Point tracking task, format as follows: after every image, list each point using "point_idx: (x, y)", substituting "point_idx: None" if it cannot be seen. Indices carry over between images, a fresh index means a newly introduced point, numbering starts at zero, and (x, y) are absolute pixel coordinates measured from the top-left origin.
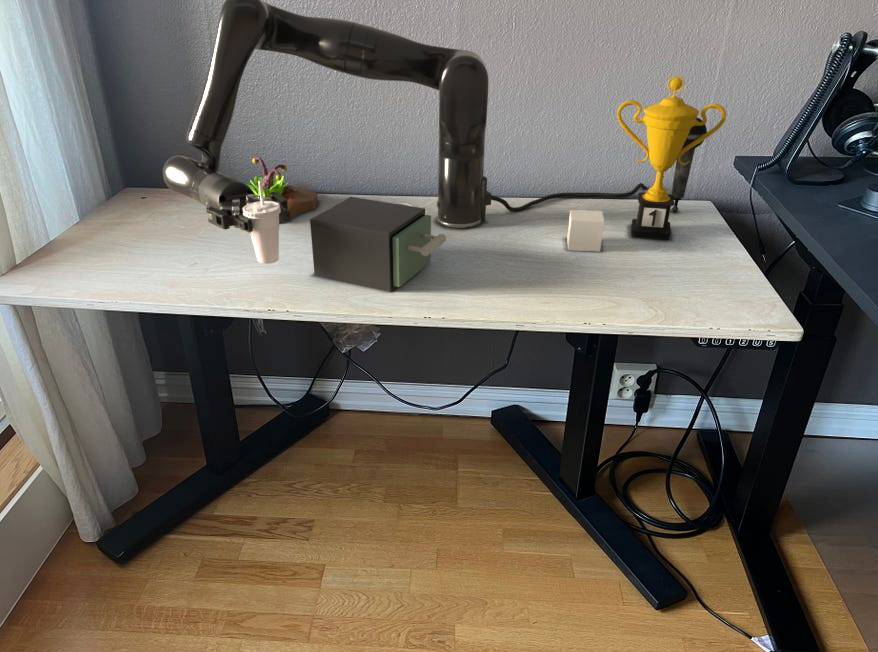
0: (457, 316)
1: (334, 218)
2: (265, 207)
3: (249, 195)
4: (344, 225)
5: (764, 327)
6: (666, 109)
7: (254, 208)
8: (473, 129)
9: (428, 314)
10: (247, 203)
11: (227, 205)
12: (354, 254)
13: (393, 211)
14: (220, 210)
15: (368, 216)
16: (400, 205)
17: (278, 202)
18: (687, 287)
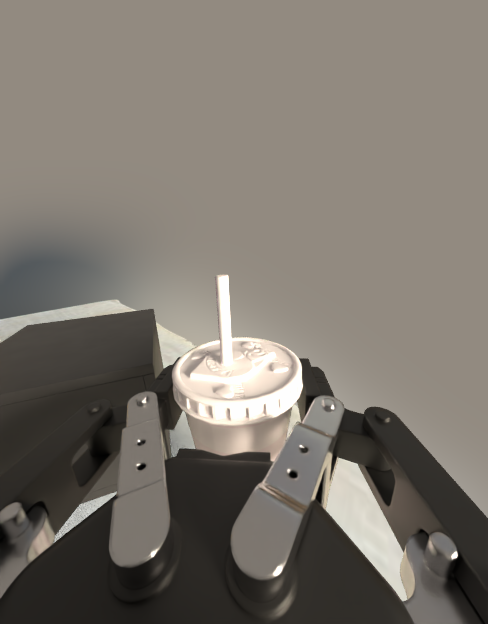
0: (178, 338)
1: (126, 348)
2: (234, 350)
3: (146, 518)
4: (152, 331)
5: (115, 301)
6: None
7: (265, 357)
8: None
9: (188, 346)
10: (215, 487)
11: (348, 559)
12: (160, 366)
13: (52, 332)
14: (414, 596)
15: (93, 334)
16: (9, 340)
17: (131, 402)
18: (71, 315)
